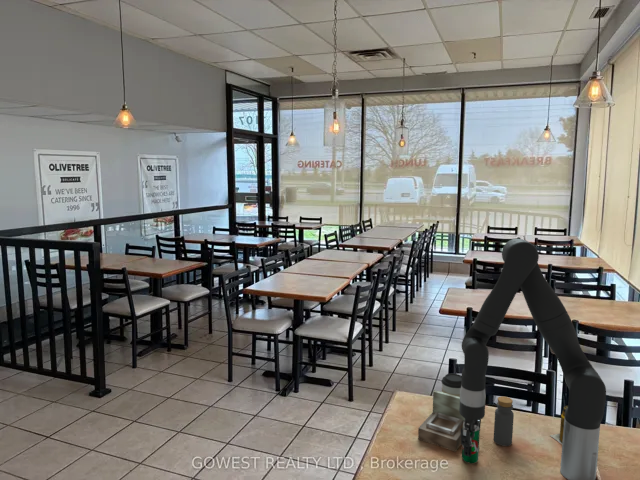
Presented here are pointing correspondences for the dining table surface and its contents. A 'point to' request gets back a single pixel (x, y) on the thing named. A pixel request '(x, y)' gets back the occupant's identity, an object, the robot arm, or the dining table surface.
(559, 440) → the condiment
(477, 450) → the soda can
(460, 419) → the display stand
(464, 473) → the dining table surface
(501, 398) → the bottle
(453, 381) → the coffee cup
